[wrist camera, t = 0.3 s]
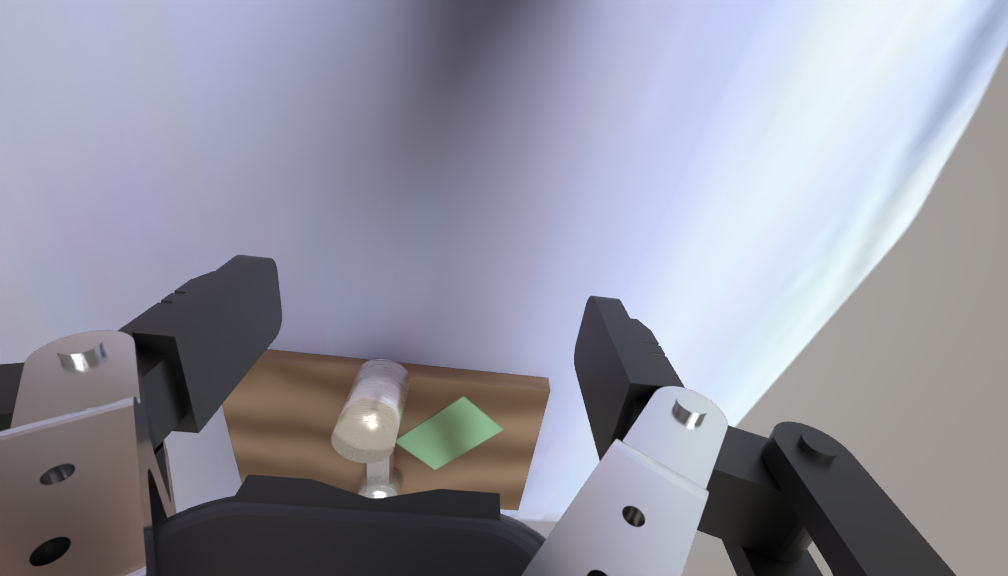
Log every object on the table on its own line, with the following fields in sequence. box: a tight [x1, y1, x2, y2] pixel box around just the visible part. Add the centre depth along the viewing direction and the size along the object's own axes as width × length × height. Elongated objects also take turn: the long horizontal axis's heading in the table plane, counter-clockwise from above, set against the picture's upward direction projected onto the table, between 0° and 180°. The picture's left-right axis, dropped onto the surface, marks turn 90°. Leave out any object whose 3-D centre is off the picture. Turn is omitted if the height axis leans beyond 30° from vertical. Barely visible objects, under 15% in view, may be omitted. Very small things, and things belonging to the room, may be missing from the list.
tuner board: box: [222, 349, 550, 510], centre depth 38 cm, size 16×26×2 cm, turn 82°
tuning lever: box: [331, 359, 410, 498], centre depth 33 cm, size 16×4×6 cm, turn 172°
